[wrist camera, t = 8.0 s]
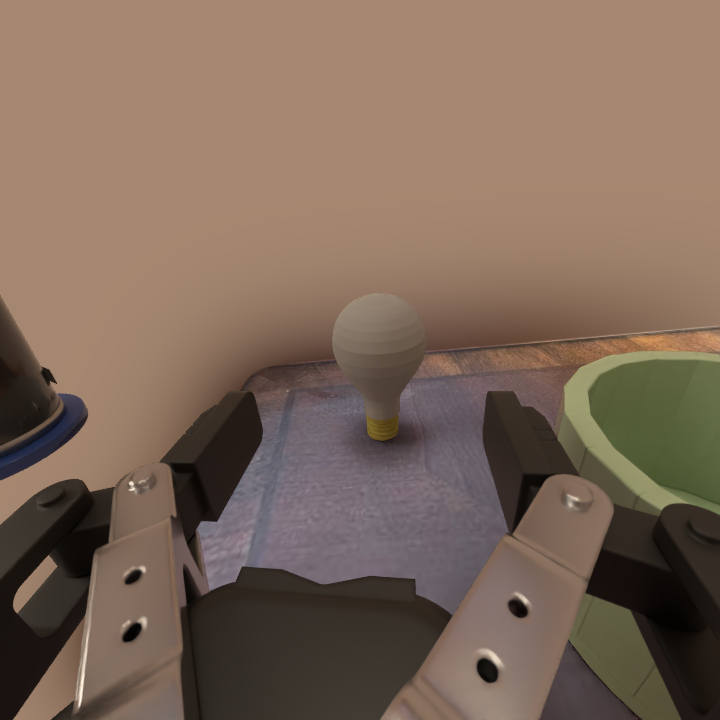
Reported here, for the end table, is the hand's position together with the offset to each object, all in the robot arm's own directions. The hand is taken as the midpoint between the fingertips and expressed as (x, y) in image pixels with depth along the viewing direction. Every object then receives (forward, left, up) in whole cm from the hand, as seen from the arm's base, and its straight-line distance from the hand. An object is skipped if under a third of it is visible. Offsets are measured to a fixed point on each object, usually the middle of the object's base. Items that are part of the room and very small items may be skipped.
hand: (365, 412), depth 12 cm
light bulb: (+2, +8, -9) cm, 12 cm away
